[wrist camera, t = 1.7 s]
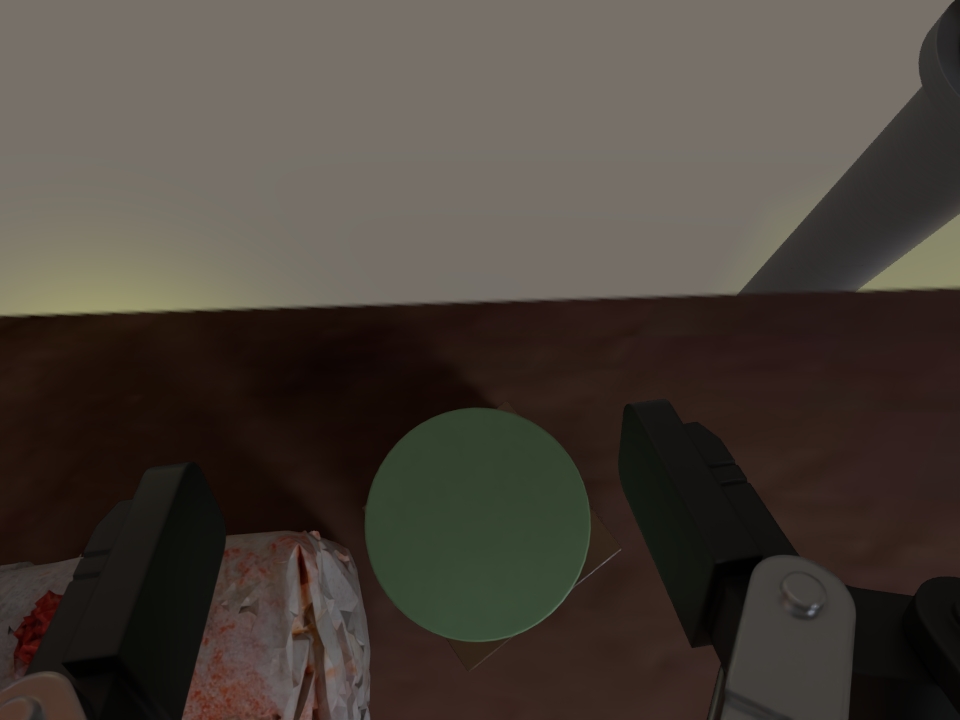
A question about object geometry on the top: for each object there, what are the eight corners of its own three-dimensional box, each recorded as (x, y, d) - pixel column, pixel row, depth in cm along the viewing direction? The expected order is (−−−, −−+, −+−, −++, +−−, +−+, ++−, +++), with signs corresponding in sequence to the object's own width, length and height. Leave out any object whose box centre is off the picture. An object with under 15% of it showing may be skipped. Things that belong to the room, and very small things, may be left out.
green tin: (424, 446, 23) (381, 398, 16) (568, 460, 23) (595, 416, 15) (405, 599, 22) (347, 628, 14) (559, 616, 21) (585, 655, 14)
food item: (374, 516, 26) (295, 499, 17) (392, 722, 24) (314, 836, 14) (66, 564, 26) (-183, 574, 17) (53, 774, 24) (-246, 922, 14)
